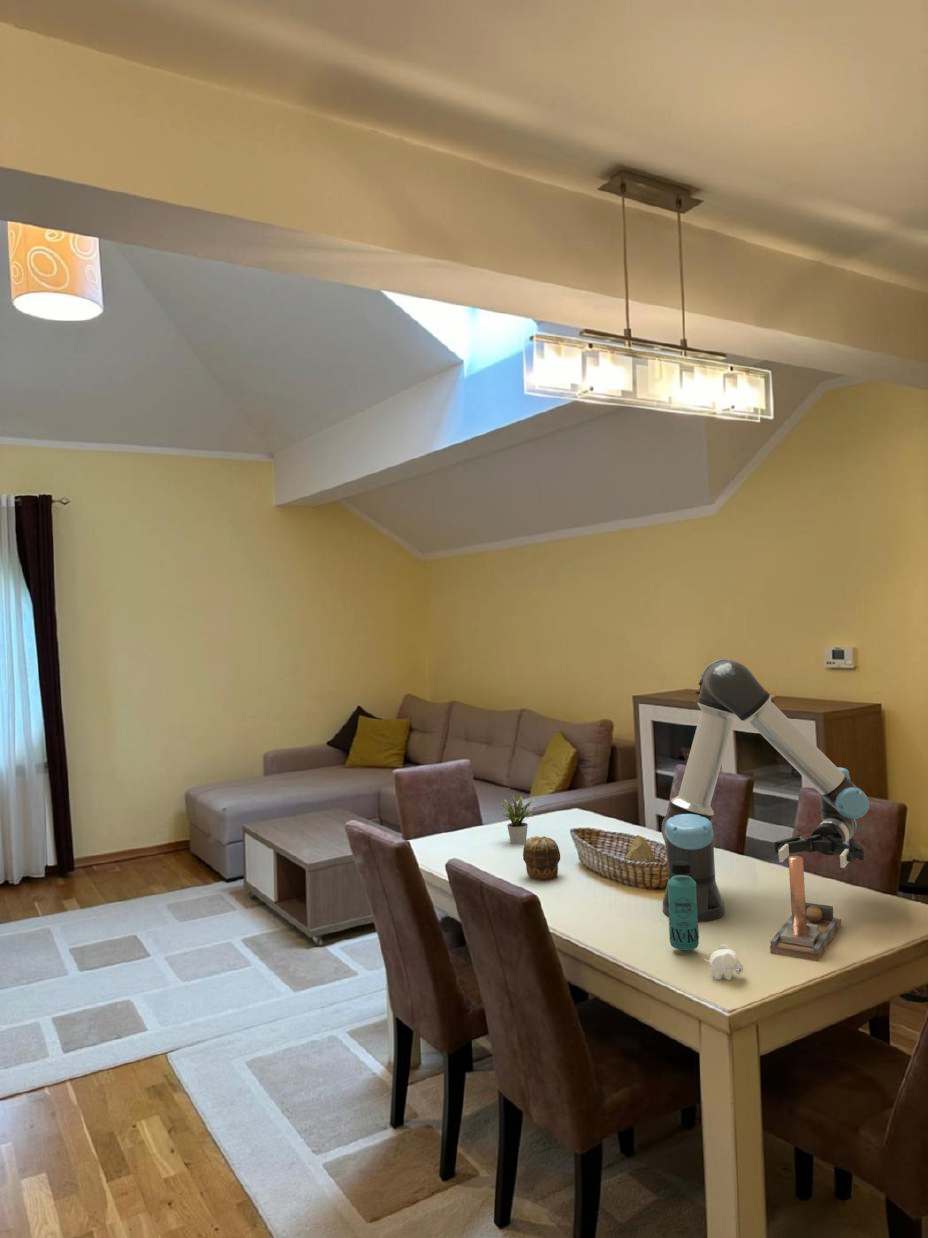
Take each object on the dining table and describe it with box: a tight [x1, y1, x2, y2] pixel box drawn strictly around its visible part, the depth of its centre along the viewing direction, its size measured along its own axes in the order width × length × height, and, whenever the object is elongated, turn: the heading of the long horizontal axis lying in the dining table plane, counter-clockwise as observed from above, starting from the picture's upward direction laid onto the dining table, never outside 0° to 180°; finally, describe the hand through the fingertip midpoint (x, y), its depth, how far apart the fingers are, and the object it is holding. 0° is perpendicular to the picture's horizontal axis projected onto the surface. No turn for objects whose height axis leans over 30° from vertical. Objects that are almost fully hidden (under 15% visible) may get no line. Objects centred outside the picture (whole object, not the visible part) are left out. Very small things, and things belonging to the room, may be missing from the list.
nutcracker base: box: [769, 902, 842, 962], centre depth 196 cm, size 24×10×5 cm, turn 145°
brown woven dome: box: [522, 835, 561, 882], centre depth 253 cm, size 11×11×12 cm
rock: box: [625, 834, 657, 863], centre depth 255 cm, size 11×9×10 cm
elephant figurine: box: [704, 944, 745, 981], centre depth 177 cm, size 7×8×6 cm
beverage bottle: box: [667, 861, 700, 951], centre depth 192 cm, size 6×7×20 cm
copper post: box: [780, 855, 820, 947], centre depth 191 cm, size 6×7×18 cm
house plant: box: [499, 795, 537, 845], centre depth 294 cm, size 14×14×16 cm
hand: (810, 859), depth 199 cm, fingers open, 13 cm apart
